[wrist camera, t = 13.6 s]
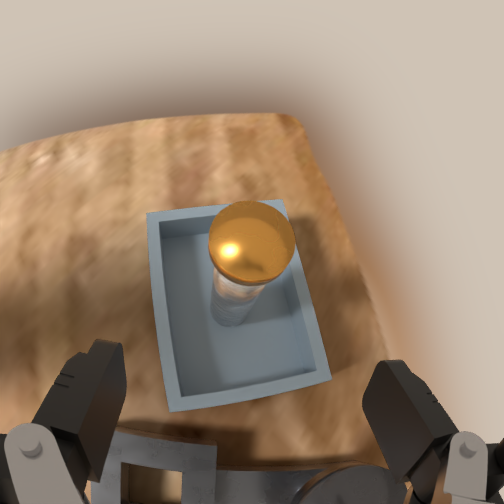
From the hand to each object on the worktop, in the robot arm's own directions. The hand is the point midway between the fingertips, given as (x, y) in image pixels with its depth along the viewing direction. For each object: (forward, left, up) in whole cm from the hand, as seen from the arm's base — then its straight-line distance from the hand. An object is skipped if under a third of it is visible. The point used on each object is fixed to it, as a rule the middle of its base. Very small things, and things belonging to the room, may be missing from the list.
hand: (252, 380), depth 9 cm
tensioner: (+7, -6, -17) cm, 19 cm away
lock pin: (-5, +5, -16) cm, 17 cm away
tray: (-5, +5, -17) cm, 18 cm away
